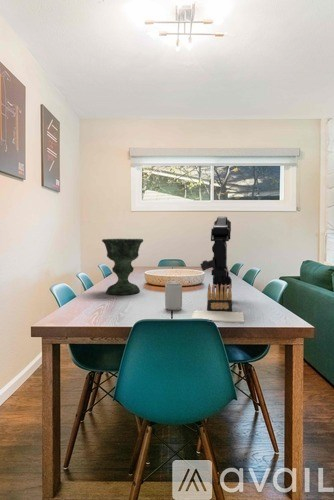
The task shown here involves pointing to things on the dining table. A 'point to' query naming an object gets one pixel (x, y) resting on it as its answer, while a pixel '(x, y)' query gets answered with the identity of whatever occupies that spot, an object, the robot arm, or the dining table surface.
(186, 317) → the dining table surface
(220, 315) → the mat
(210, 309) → the ammunition clip
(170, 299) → the can
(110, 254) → the goblet
